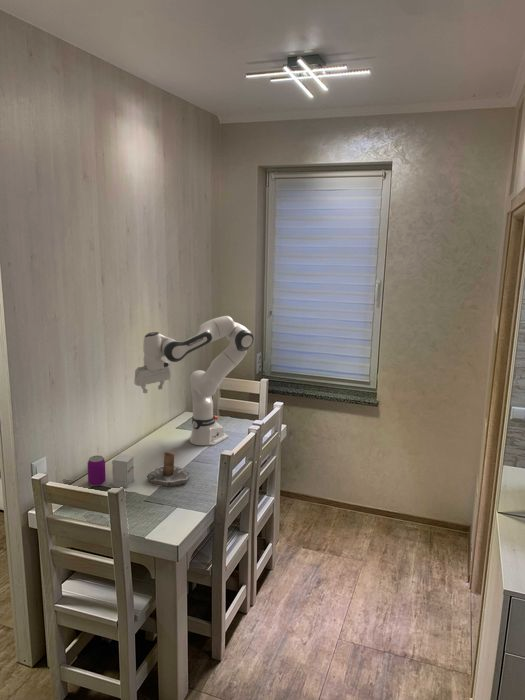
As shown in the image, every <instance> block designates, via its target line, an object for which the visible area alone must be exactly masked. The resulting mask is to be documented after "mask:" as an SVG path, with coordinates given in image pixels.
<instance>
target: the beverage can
mask: <svg viewBox="0 0 525 700" xmlns="http://www.w3.org/2000/svg"><path fill="white" fill-rule="evenodd" d="M106 472H107V471H106V460H105V458H104V456H103V455H93V456H90V457H89V458H88V461H87V482H88V485H90V486H92V487H98V486H102V485H103V484H104V483H106V481H107V478H106V477H107V475H106Z"/></svg>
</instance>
